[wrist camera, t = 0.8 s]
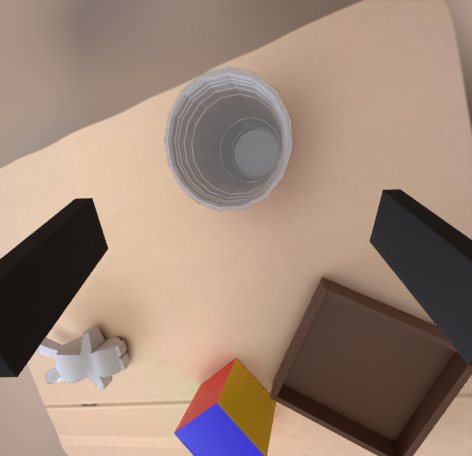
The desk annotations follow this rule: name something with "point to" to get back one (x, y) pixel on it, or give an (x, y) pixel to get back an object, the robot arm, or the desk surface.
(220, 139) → the plastic cup
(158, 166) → the desk surface
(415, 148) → the desk surface
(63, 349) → the bunny figurine
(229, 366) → the cube
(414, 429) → the tray
